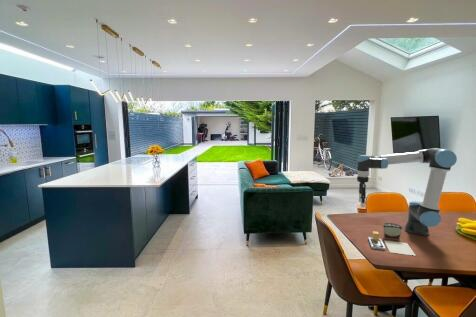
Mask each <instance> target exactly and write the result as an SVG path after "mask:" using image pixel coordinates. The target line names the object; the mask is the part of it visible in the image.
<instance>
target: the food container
mask: <svg viewBox="0 0 476 317" xmlns="http://www.w3.org/2000/svg"><path fill="white" fill-rule="evenodd" d="M382 227H383V236H384V237H383V238H384V239H387V240H395V241H397V240H398V241H400V239H401V235H402V230H404V229H403V226H402V225H400V224H398V223H395V222H384V223H383V224H382Z"/></svg>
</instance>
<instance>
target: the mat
mask: <svg viewBox="0 0 476 317" xmlns="http://www.w3.org/2000/svg"><path fill="white" fill-rule="evenodd" d="M383 243H384V245H385V247H387V248H386V249H388V252H389V254H396V253H397V254H399V255H404V256H412V255H413V257H416V256H417V255H416V254H415V253H414V251H413V250H412V248H411V247H410V245H409V244H408V243H407V242H399V241H393V240H383Z"/></svg>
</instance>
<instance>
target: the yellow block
mask: <svg viewBox="0 0 476 317" xmlns="http://www.w3.org/2000/svg"><path fill="white" fill-rule="evenodd" d="M371 238H373V240H375V241H379V239H380V233H379V232H378V231H374V230H373V231H372V237H371Z"/></svg>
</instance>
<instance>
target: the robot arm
mask: <svg viewBox="0 0 476 317" xmlns="http://www.w3.org/2000/svg"><path fill="white" fill-rule="evenodd" d="M457 160H458V157H457V155H456V153H454V151H452V150H451V149H450V150H449V149H447V148H438V147H432V148H427V149H418V150H417V151H414V152H413V151H412V152H403V153H392V154H382V155H367V154H359V155H358V157H357V171H356V174H357V176H356V180H357V182H358V183H359V184H358V186H359V187H358V193H359V194H358V202H359V203H360V208H366V198H367V196H366V193H367V192H366V191H367V190H366V189H367V187H366V186H367V185H366V183H368V182H369V175H370V169H380V170H383V169H384V170H385V169H387V168H388V167H389V166H390V165H398V164H399V165H400V164H409V163H411V164H413V163H419V164H429V165H428V167H429V169H430V171H429V176H428V180H427V184H426V187H425V192H424V197H423V201H410V202H409V203H408V215H407V216H408V217H407V218H408V219H407V221H406V224H405V226H404V231H405V232H407V233H410V234H412V235H417V236H428V235H429V234H430V230H429V228H433V227H434V228H435V227H436V226H438V225H439V224H441V221H442V217H441V215H440V210H441V209H440V206H439V203H440V199H441V195H442V192H443V187H444V184H445V180H446V177H447V173H448V172H450V171H451V168H452V167H454V166H455V164H456V163H457V162H458V161H457Z"/></svg>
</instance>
